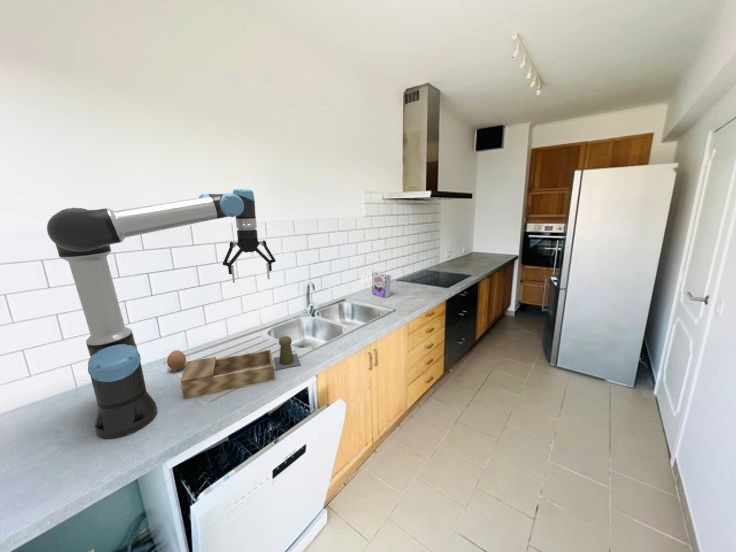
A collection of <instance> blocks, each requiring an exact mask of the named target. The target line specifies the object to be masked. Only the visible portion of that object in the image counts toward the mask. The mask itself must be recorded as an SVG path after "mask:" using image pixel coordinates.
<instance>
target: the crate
mask: <svg viewBox="0 0 736 552" xmlns="http://www.w3.org/2000/svg"><path fill="white" fill-rule="evenodd" d="M264 365H265V366H264ZM184 366H185V367H184V369H183V372H182V375H181V378H180V386H181V391H182V398H183V399H188V398H193V397H198V396H203V395H207V394H212V393H216V392H221V391H222V392H223V391H227V390H232V389H235V388H240V387H245V386H246V387H247V386H250V385H255V384H261V383H265V382H269V381H273V380H276V379H275V364H274V359H273V357H272V351H271V349H266V350H260V351H254V352H250V353H243V354H238V355H231V356H225V357H220V358H217V357H216V356H211V357H206V358H200V359H194V360H189V361H186V363H185V365H184ZM259 366H260V367H259ZM231 371H233V372H231ZM227 372H228V373H227ZM221 373H222V374H221ZM215 374H216V375H215ZM202 394H203V395H202Z"/></svg>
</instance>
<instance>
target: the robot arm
mask: <svg viewBox="0 0 736 552" xmlns="http://www.w3.org/2000/svg"><path fill="white" fill-rule="evenodd" d="M255 202H256V201H255V195H254V191H253V190H252V189H250V188H249V189H248V188H247V189H246V188H245V189H243V188H237V189H236V188H234V189H233V190H232V193H231V192H229V193H201V194H200V195H199V197H197V198H191V199H183V200H178V201H171V202H165V203H158V204H152V205H144V206H137V207H131V208H125V209H124V208H123V209H119V210H112V209H110V208H108V207H107V208H100V209H99V208H97V209H86V208H83V207H69V208H67V207H66V208H64V209H62V210H59V211H58V212H56V213H55V214H53V215H52V216H51V217H50V218H49V220H48V221H47V226H46V231H47V232H46V233H47V235H48V237H49V239H50V240H51V242H53V243H54V245H55V247H56V250H57V253H58V256H59V258H60V259H62V260H65V261H67V262H68V264H69V268H70V272H71V275H72V277H73V280H74V285H75V288H76V291H77V294H78V298H79V301H80V304H81V308H82V310H83V311H82V312H83V314H84V317H85V321H86V324H87V327H88V332H89V337H87V339H86V340H85V344H86V347H87V350H88V353H89V357H90V358H89V359H88V362H87V372H88V374H89V376H90V379H91V384H92V388H93V393H94V395H95V396H94V397H95V398H96V399H95V400H96V404H97V411H96V417H95V421H94V431H95V434H96V435H97V437H99V438H101V439H116V438H121V437H124V436H128V435H130V434H133V433H135V432H137V431H139V430H140V429H142V428H144V427H145V426H147V425H148V424H149V423H151V422H152V420H154V419H155V417H156V416H157V414H158V408H157V403H156V401H155V400H154V399H153V397H152V396H151V395H150V394H149V392H148V391H147V387H146V382H145V377H144V371H143V366H142V362H141V360H142V359H141V354H140V353H139V350H138V346H137V344H136V341H135V338H134V334H133V330H132V329H131V328H130V327H127V326H125V322H124V318H123V315H122V310H121V307H120V303H119V299H118V295H117V291H116V288H115V285H114V281H113V277H112V273H111V269H110V265H109V262H108V258H107V257H108V256H109V255H110V253H112V247H111V245H113V244H118V243H123V242H124V241H125V239H126V238H130V237H134V236H139V235H140V236H141V235H146V234H149V233H154V232H160V231H164V230H168V229H170V230H171V229H175V228H179V227H183V226H189V225H194V224H198V223H204V222H209V221H213V220H219V219H224V218H235V223H236V224H235V225H236V229H237V230H236V235H237V242H235V241H231V240H230V241H229V248H228V250H227V253H226V255H225V256H224V258H223V262H222V265H223V266H226V267H227V271H228V275H231V278H232V283H236V277H235V270H234V269H235V268H234V265H233V264H234V263H235V262H236V260H237V259H238V258H239V256H240V255H241V254H242V253H244V254H245V253H249V252H250V253H255V252H256V253H257V254H258V255H259V256H260V257H261V258H262V259H263V260H265V262H266V263H265V264H266V265H265V266H266V276H267V280H271V278H270V272H272V270H273V268H272V267H273V266H272V264H273V263H275V262H276V261H277V260H276V259H275V256H274V255H273V254H272V252H271V251H270V249H269V247H268V245H267V240H264V239H263V240H259V239H258V230H257V226H258V224H257V217H256V203H255ZM260 245H261V246H262V247H263V248H264V250H265V251H266V252H267V254H268V256H269V258H270V259H269V258H268V256H266V255H265V254H264V252H262V251H261V249H259V248H258V247H259V246H260ZM236 246H237V247H238V248H239V249H238V250H237V252H236V253H235V254H234V256H233V257H232V258H231V260H230V261H229V259H230V256H231V254H232V252H233V249H234V248H236Z"/></svg>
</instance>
